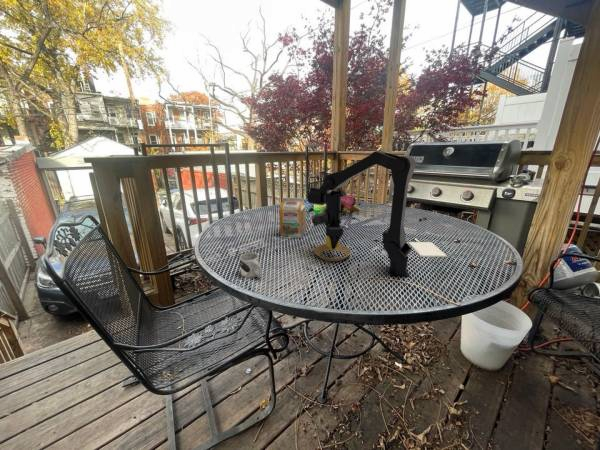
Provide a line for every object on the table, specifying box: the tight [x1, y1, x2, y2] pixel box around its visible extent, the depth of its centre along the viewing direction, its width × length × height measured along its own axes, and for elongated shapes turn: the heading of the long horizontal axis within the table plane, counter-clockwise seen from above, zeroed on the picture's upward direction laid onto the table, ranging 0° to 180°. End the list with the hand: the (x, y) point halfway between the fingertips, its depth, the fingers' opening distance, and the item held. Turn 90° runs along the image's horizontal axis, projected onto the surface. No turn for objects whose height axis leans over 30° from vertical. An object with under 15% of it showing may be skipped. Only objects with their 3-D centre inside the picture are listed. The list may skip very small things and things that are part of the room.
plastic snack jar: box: [278, 197, 307, 239], centre depth 125 cm, size 11×11×19 cm
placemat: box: [408, 241, 448, 258], centre depth 107 cm, size 14×10×1 cm
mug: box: [238, 252, 263, 279], centre depth 89 cm, size 10×7×7 cm, turn 45°
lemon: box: [325, 235, 341, 252], centre depth 102 cm, size 6×6×8 cm
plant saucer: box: [314, 243, 352, 262], centre depth 104 cm, size 15×15×3 cm
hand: (332, 244), depth 102 cm, fingers open, 9 cm apart
